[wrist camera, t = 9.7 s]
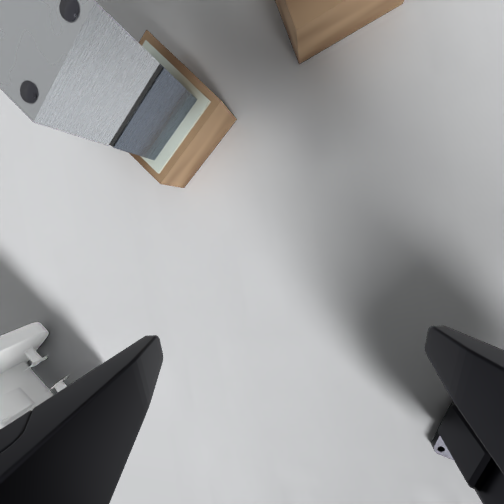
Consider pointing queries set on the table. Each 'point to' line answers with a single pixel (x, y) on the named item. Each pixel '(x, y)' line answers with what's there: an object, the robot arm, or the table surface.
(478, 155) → the table surface
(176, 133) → the stand
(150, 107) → the plate
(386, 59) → the table surface
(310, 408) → the table surface
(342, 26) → the stand
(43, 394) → the cable organizer
